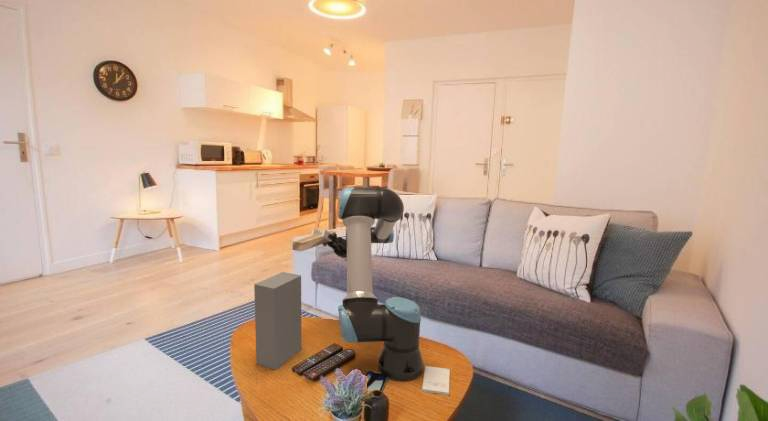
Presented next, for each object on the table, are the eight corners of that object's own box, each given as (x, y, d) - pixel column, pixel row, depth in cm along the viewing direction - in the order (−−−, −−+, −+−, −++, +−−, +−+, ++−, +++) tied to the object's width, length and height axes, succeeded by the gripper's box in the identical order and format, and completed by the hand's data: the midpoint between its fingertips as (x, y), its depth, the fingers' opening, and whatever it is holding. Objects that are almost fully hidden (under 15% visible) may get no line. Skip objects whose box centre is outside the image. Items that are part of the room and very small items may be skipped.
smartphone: (351, 400, 108) (367, 370, 122) (351, 403, 108) (367, 372, 122) (376, 405, 106) (389, 374, 120) (376, 408, 106) (389, 376, 121)
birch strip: (335, 238, 149) (335, 231, 148) (301, 251, 129) (301, 242, 128) (327, 237, 150) (327, 230, 150) (292, 249, 131) (292, 241, 130)
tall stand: (301, 349, 134) (301, 275, 130) (275, 370, 122) (273, 288, 117) (283, 344, 138) (282, 271, 133) (256, 363, 125) (254, 284, 120)
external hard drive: (449, 373, 124) (448, 397, 112) (424, 370, 125) (421, 393, 113) (449, 369, 124) (449, 392, 112) (425, 365, 125) (421, 388, 113)
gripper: (360, 261, 156) (334, 244, 136) (325, 255, 163) (296, 238, 143) (364, 244, 158) (340, 225, 138) (330, 239, 165) (302, 220, 145)
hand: (318, 232), depth 141 cm, fingers closed on birch strip, 4 cm apart
